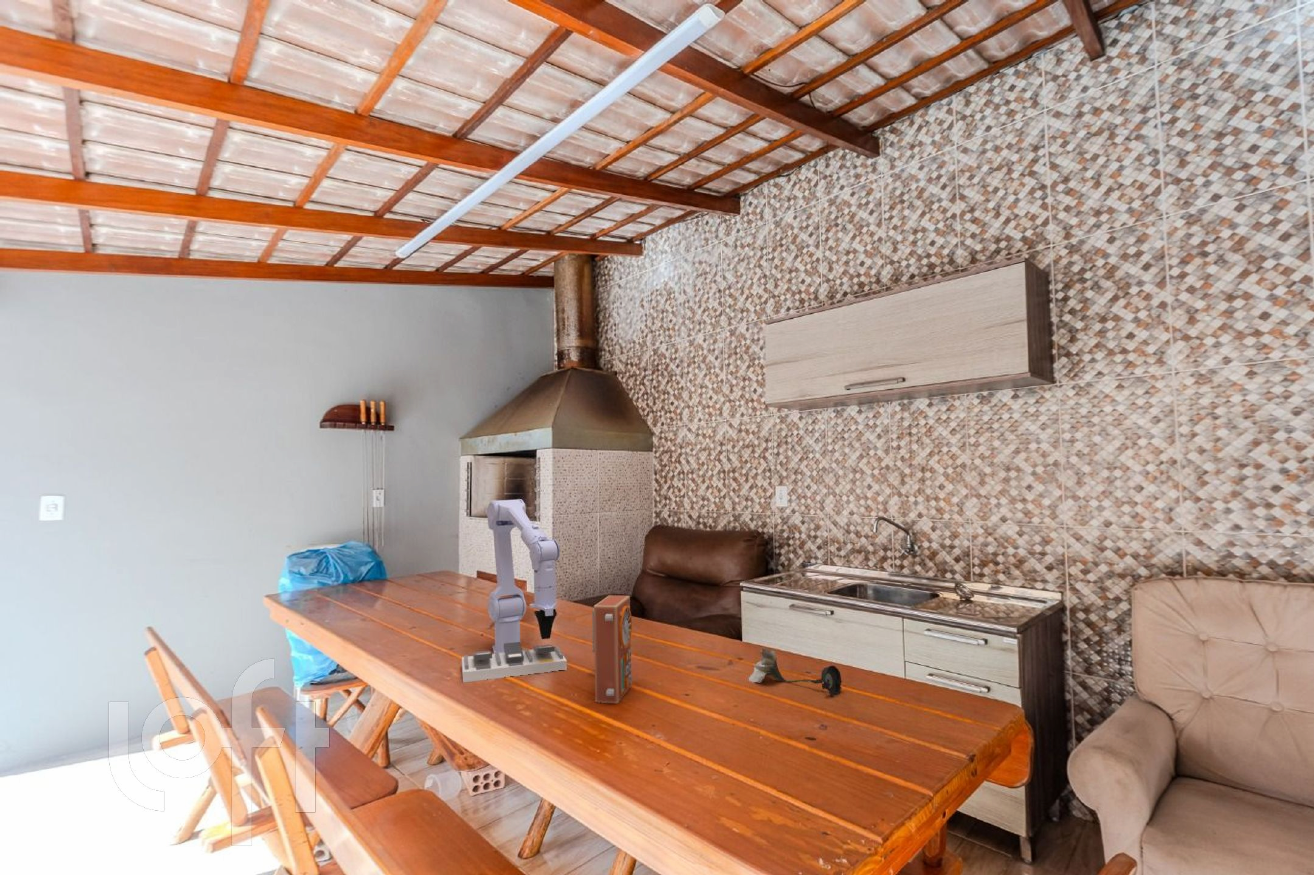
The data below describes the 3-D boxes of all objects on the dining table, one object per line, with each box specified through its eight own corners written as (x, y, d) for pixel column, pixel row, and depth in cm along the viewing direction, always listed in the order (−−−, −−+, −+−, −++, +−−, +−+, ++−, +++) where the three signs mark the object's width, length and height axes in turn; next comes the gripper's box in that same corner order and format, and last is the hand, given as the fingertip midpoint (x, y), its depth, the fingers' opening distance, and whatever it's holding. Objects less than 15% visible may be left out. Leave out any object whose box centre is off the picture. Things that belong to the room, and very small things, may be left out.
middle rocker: (503, 647, 173) (503, 643, 173) (520, 646, 175) (520, 641, 174) (506, 662, 165) (506, 657, 165) (523, 660, 166) (523, 655, 166)
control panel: (635, 683, 155) (619, 706, 140) (608, 682, 156) (589, 704, 141) (634, 594, 156) (618, 607, 141) (606, 594, 157) (587, 606, 143)
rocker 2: (533, 650, 175) (533, 645, 176) (549, 648, 177) (549, 643, 177) (537, 653, 167) (537, 647, 167) (554, 651, 168) (554, 646, 169)
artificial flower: (828, 708, 140) (815, 665, 140) (747, 696, 156) (735, 658, 156) (846, 686, 146) (834, 646, 146) (767, 677, 162) (755, 640, 162)
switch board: (461, 666, 172) (461, 653, 172) (558, 656, 180) (558, 643, 180) (463, 682, 159) (463, 668, 159) (566, 670, 167) (566, 656, 167)
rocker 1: (473, 657, 170) (472, 651, 171) (490, 655, 172) (489, 650, 172) (474, 660, 162) (474, 654, 162) (492, 658, 163) (492, 652, 164)
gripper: (526, 583, 175) (527, 633, 174) (533, 591, 161) (533, 646, 160) (552, 581, 177) (552, 630, 176) (561, 589, 163) (561, 643, 163)
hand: (545, 638), depth 169 cm, fingers closed
